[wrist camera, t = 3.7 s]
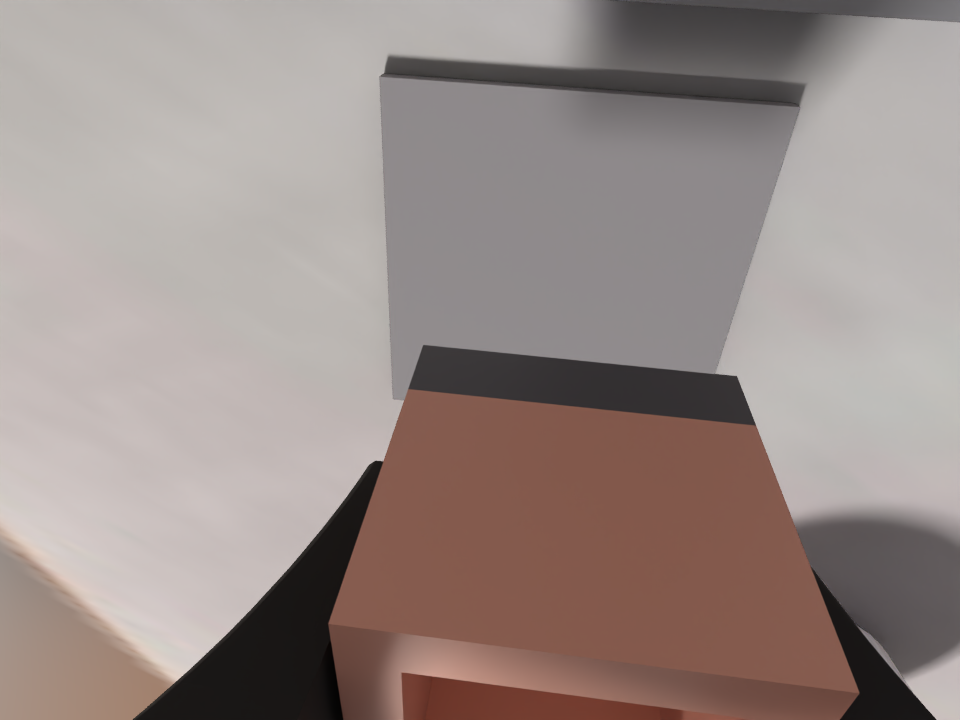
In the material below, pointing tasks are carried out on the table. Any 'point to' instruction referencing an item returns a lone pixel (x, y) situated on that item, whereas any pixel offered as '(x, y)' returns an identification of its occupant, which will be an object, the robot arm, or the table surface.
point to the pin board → (842, 7)
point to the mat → (571, 219)
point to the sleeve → (580, 555)
